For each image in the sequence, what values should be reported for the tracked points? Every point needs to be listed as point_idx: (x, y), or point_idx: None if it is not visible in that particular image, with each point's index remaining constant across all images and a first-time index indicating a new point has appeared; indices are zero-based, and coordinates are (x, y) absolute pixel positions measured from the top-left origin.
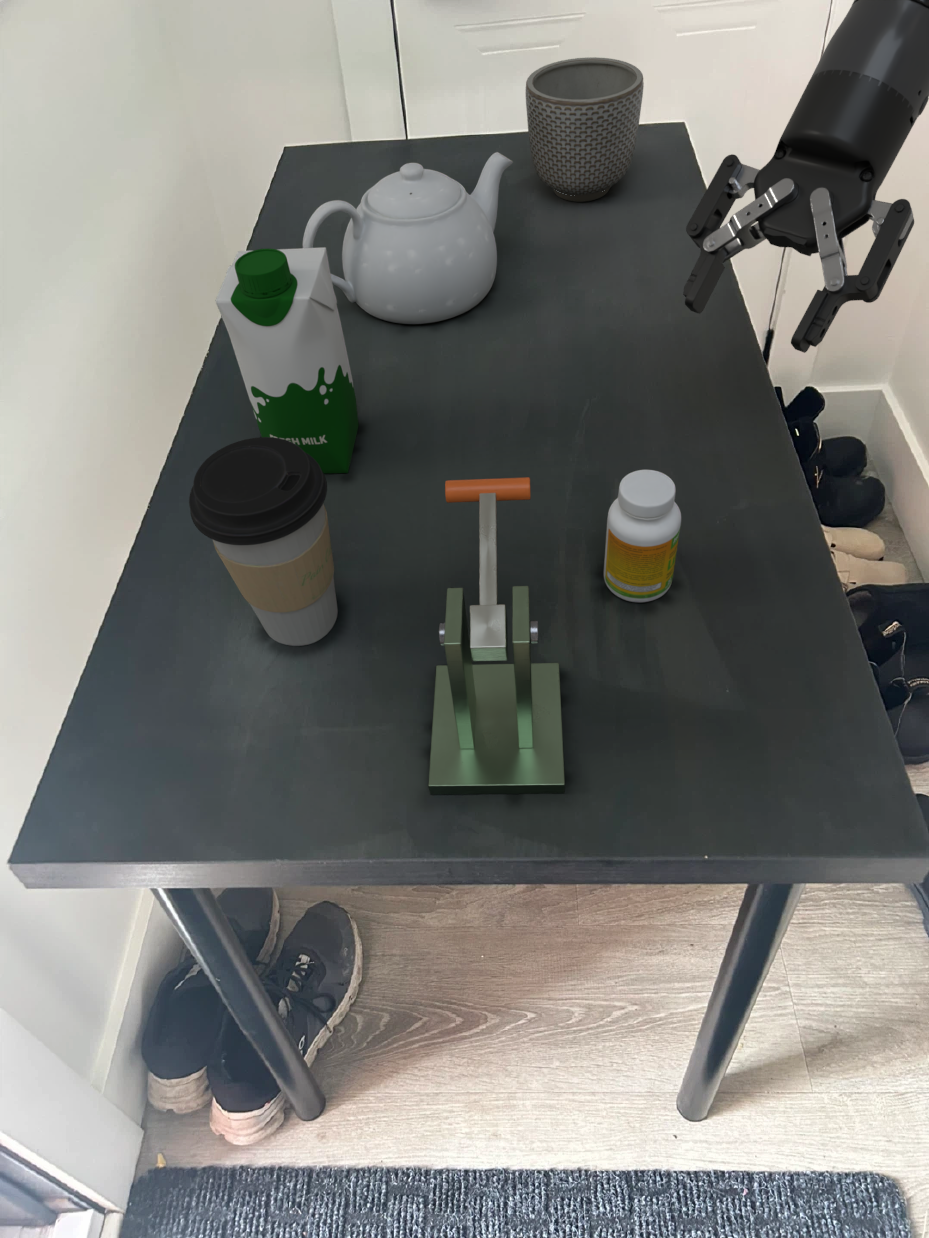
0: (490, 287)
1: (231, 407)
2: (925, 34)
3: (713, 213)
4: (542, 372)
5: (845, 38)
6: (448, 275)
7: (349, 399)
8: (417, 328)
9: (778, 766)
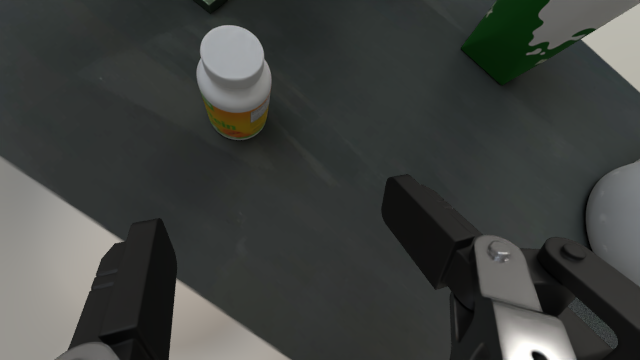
0: None
1: None
2: None
3: (603, 318)
4: None
5: None
6: (638, 217)
7: (516, 32)
8: (584, 194)
9: (18, 50)
